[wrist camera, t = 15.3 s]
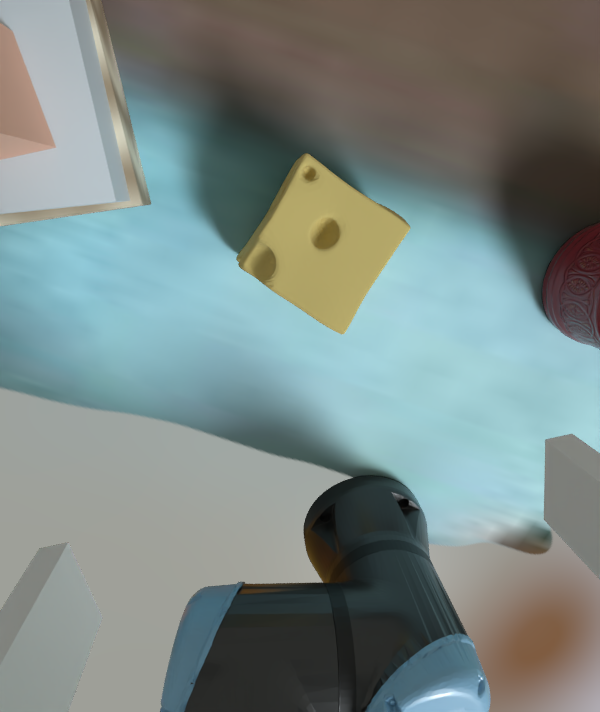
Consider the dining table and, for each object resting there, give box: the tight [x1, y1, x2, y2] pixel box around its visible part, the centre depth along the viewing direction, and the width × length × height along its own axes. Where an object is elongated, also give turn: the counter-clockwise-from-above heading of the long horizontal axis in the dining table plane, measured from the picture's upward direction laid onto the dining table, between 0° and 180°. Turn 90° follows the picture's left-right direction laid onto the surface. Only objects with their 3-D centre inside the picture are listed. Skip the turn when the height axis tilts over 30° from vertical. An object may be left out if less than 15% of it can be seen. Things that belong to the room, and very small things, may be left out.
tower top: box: [0, 0, 130, 214], centre depth 31 cm, size 14×14×4 cm
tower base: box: [0, 0, 151, 226], centre depth 35 cm, size 16×16×4 cm
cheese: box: [236, 153, 410, 334], centre depth 37 cm, size 10×11×10 cm
